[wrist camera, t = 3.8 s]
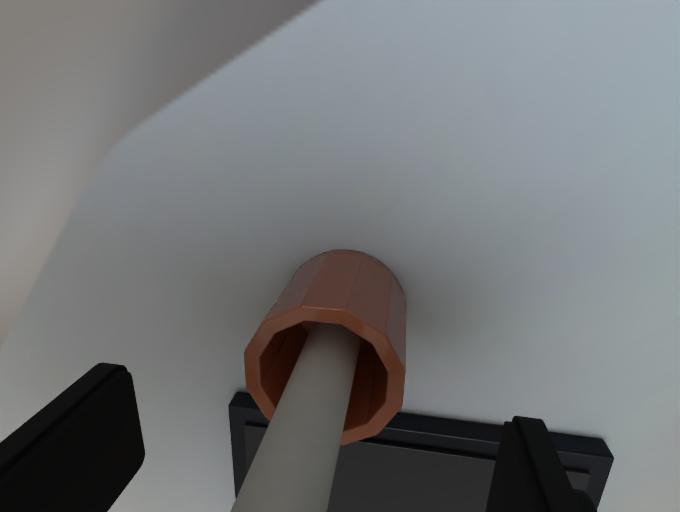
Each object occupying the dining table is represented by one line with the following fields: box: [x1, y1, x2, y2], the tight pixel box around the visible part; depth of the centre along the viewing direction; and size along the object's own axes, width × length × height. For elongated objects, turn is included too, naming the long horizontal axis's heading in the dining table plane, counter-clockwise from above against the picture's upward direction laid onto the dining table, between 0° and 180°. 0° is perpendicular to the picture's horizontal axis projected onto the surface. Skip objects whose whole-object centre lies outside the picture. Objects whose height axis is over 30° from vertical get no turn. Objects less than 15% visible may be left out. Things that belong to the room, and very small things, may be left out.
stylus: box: [231, 322, 362, 512], centre depth 11 cm, size 2×2×11 cm
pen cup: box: [244, 250, 406, 446], centre depth 14 cm, size 5×5×5 cm
